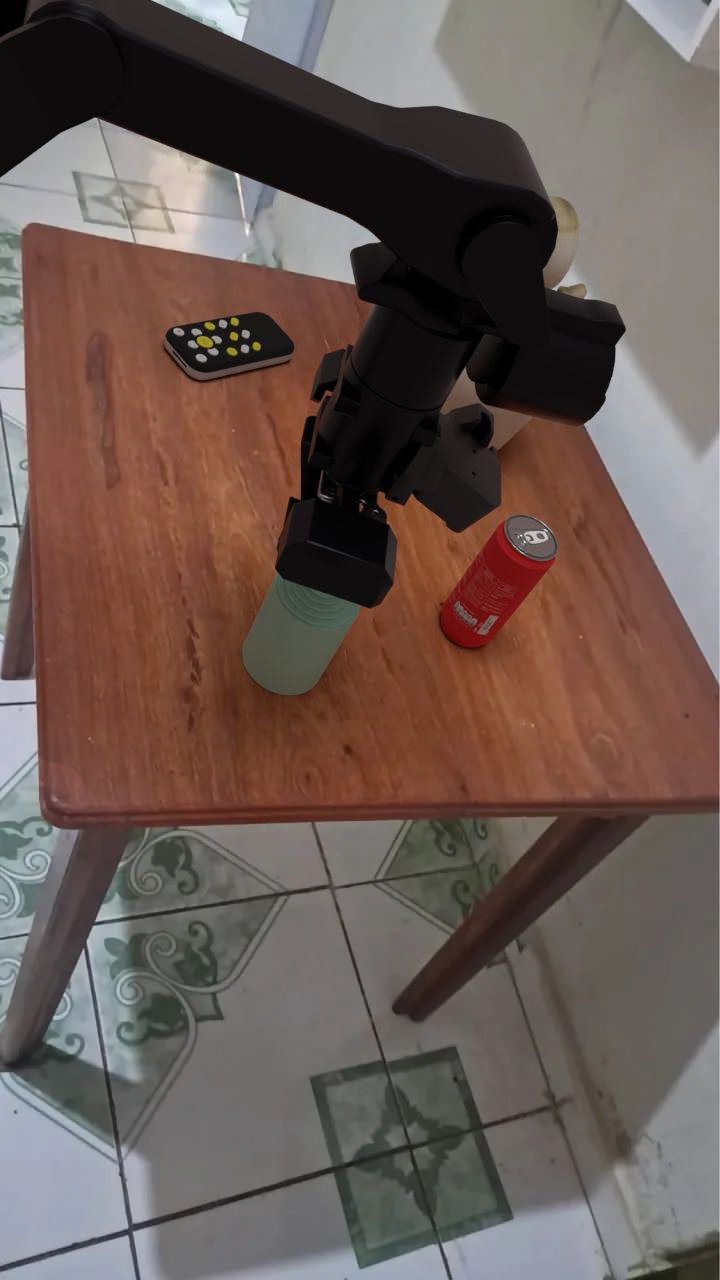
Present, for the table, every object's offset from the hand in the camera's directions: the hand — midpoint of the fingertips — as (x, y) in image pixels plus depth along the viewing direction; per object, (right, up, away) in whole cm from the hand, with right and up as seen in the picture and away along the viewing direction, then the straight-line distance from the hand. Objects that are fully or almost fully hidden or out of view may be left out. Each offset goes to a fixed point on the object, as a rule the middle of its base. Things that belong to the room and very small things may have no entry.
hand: (304, 558), depth 63 cm
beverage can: (+13, -4, +20) cm, 24 cm away
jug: (+12, +17, +37) cm, 42 cm away
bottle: (-2, -7, +10) cm, 13 cm away
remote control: (-9, +23, +30) cm, 39 cm away
